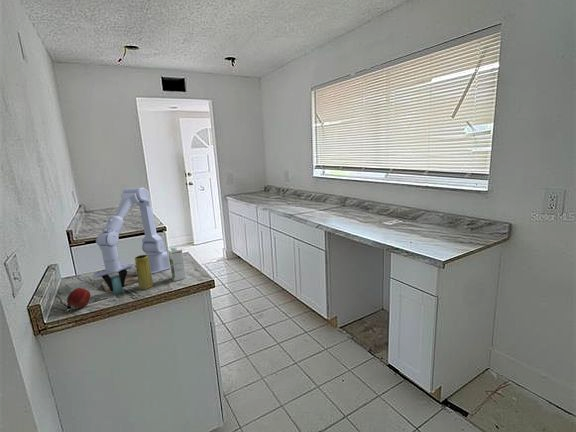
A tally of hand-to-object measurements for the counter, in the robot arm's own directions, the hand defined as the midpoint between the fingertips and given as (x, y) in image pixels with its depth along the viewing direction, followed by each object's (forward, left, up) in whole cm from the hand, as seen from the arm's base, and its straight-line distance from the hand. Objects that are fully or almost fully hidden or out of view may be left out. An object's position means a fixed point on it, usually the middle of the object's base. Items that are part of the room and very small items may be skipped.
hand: (117, 288), depth 131 cm
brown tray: (-4, -10, -2) cm, 11 cm away
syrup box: (-25, +6, -2) cm, 26 cm away
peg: (0, 0, -2) cm, 2 cm away
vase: (-11, +4, -2) cm, 12 cm away
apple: (+14, +4, -2) cm, 15 cm away
